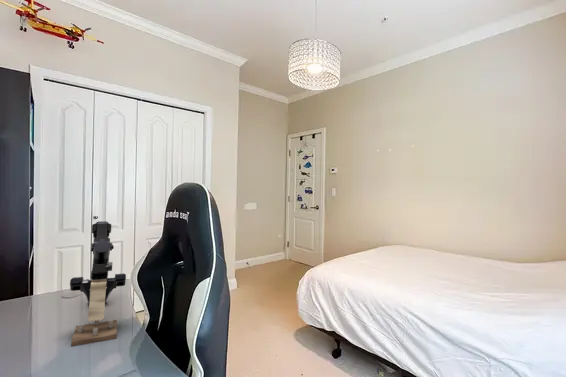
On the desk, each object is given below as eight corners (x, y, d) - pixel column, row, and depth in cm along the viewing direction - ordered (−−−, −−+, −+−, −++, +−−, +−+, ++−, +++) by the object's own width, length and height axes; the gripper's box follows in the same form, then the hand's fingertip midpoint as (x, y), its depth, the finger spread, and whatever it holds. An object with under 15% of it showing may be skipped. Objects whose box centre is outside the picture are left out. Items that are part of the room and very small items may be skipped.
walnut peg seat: (75, 329, 116) (76, 319, 116) (116, 323, 123) (117, 313, 123) (71, 346, 103) (71, 334, 104) (116, 338, 110) (117, 327, 110)
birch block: (89, 316, 114) (91, 280, 114) (104, 314, 117) (106, 279, 117) (88, 321, 110) (90, 284, 110) (103, 319, 112) (106, 282, 113)
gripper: (72, 256, 113) (66, 294, 103) (126, 253, 122) (126, 288, 112) (73, 272, 119) (67, 309, 109) (125, 268, 129) (124, 302, 119)
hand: (97, 301), depth 112 cm, fingers closed on birch block, 5 cm apart
